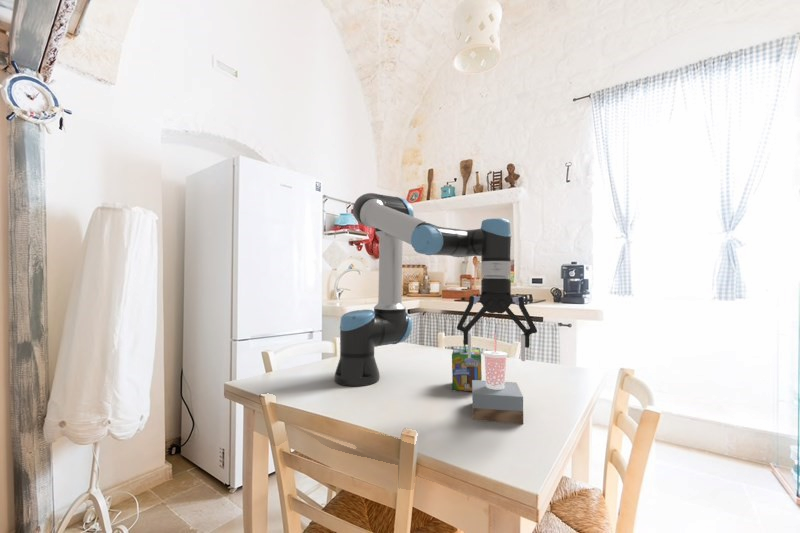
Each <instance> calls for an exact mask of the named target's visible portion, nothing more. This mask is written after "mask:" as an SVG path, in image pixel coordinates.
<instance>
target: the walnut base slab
mask: <svg viewBox="0 0 800 533" xmlns="http://www.w3.org/2000/svg"><path fill="white" fill-rule="evenodd" d="M472 420H473V421H474V420H475V421H484V422H496V423H504V424H505V423H506V424H507V423H508V424H515V425H516V424H517V425H524V410H523V411H509V410H495V409H480V408H473V407H472Z"/></svg>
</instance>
